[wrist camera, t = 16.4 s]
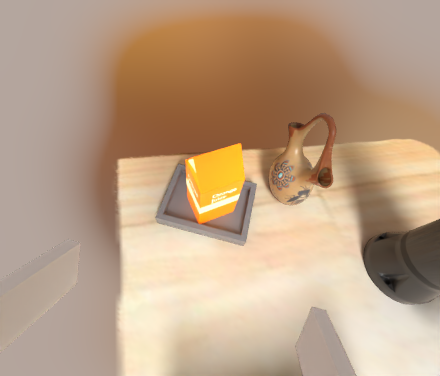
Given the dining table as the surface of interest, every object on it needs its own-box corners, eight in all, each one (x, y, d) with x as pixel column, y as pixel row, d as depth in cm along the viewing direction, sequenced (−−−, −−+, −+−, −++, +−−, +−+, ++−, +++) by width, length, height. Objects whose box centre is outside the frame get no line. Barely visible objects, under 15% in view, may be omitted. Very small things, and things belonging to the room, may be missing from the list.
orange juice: (233, 211, 54) (252, 160, 36) (198, 225, 51) (201, 176, 34) (220, 185, 57) (231, 126, 40) (186, 196, 54) (183, 139, 37)
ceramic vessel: (255, 168, 62) (287, 87, 40) (285, 164, 64) (332, 84, 42) (275, 224, 54) (329, 161, 33) (309, 218, 56) (381, 154, 34)
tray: (253, 190, 58) (256, 183, 56) (243, 246, 51) (245, 242, 48) (179, 170, 59) (178, 163, 56) (157, 222, 51) (155, 217, 49)
